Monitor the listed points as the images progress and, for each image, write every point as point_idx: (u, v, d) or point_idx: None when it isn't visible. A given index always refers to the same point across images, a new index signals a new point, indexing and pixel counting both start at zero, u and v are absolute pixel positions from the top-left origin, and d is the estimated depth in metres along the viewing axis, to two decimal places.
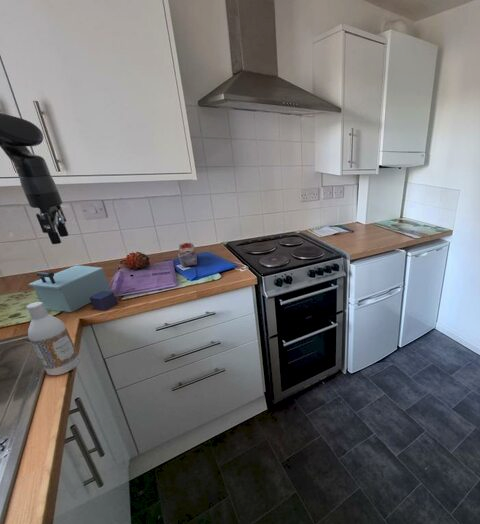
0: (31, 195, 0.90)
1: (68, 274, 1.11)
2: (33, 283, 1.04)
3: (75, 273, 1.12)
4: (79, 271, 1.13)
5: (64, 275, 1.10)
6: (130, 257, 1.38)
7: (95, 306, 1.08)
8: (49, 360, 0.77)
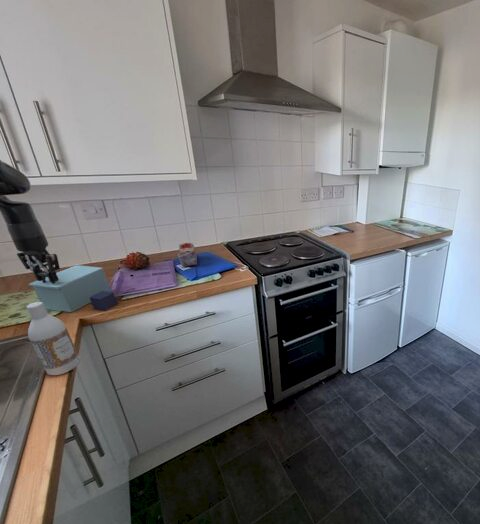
0: (31, 239, 0.96)
1: (68, 274, 1.11)
2: (33, 283, 1.04)
3: (75, 273, 1.12)
4: (79, 271, 1.13)
5: (64, 275, 1.10)
6: (130, 257, 1.38)
7: (95, 306, 1.08)
8: (49, 360, 0.77)
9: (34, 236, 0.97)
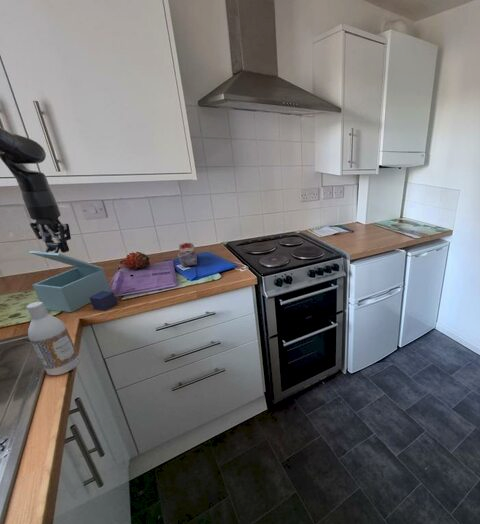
0: (44, 207, 0.99)
1: None
2: None
3: None
4: None
5: None
6: (130, 257, 1.38)
7: (95, 306, 1.08)
8: (49, 360, 0.77)
9: (48, 205, 1.00)
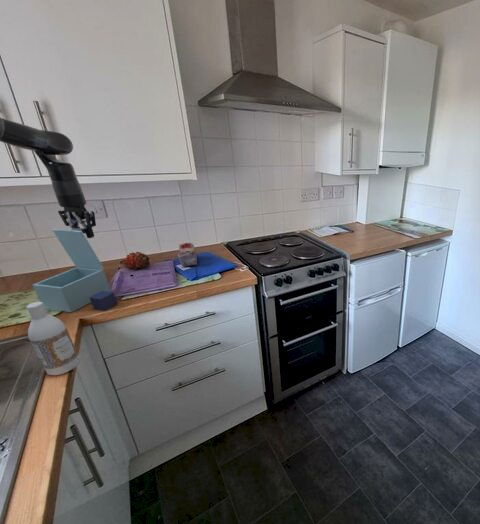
0: (72, 195, 1.07)
1: None
2: None
3: None
4: None
5: None
6: (130, 257, 1.38)
7: (95, 306, 1.08)
8: (49, 360, 0.77)
9: (75, 193, 1.08)
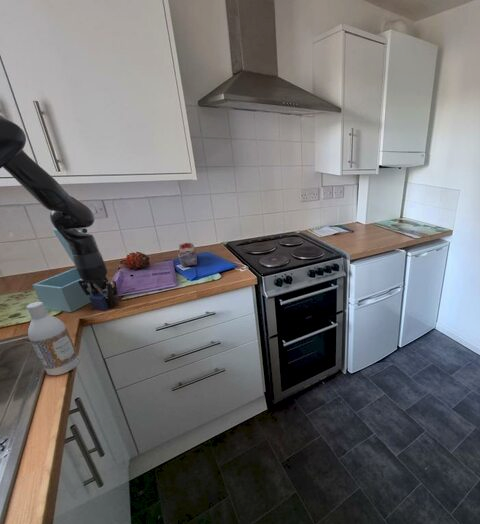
0: (94, 268, 1.02)
1: None
2: None
3: None
4: None
5: None
6: (130, 257, 1.38)
7: (95, 306, 1.08)
8: (49, 360, 0.77)
9: (97, 265, 1.03)
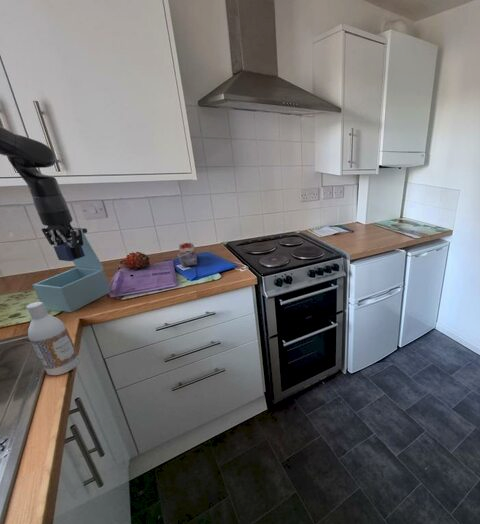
0: (56, 213, 0.96)
1: None
2: None
3: None
4: None
5: None
6: (130, 257, 1.38)
7: (60, 256, 1.02)
8: (49, 360, 0.77)
9: (59, 210, 0.96)
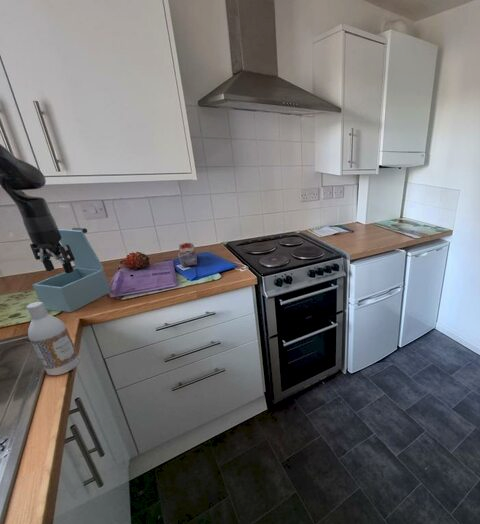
0: (45, 232, 1.00)
1: None
2: None
3: None
4: None
5: None
6: (130, 257, 1.38)
7: None
8: (49, 360, 0.77)
9: (48, 230, 1.00)
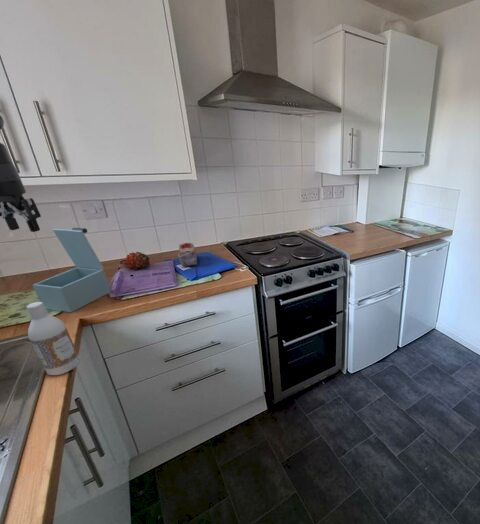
0: (5, 182, 0.88)
1: None
2: None
3: None
4: None
5: None
6: (130, 257, 1.38)
7: None
8: (49, 360, 0.77)
9: (9, 180, 0.89)
